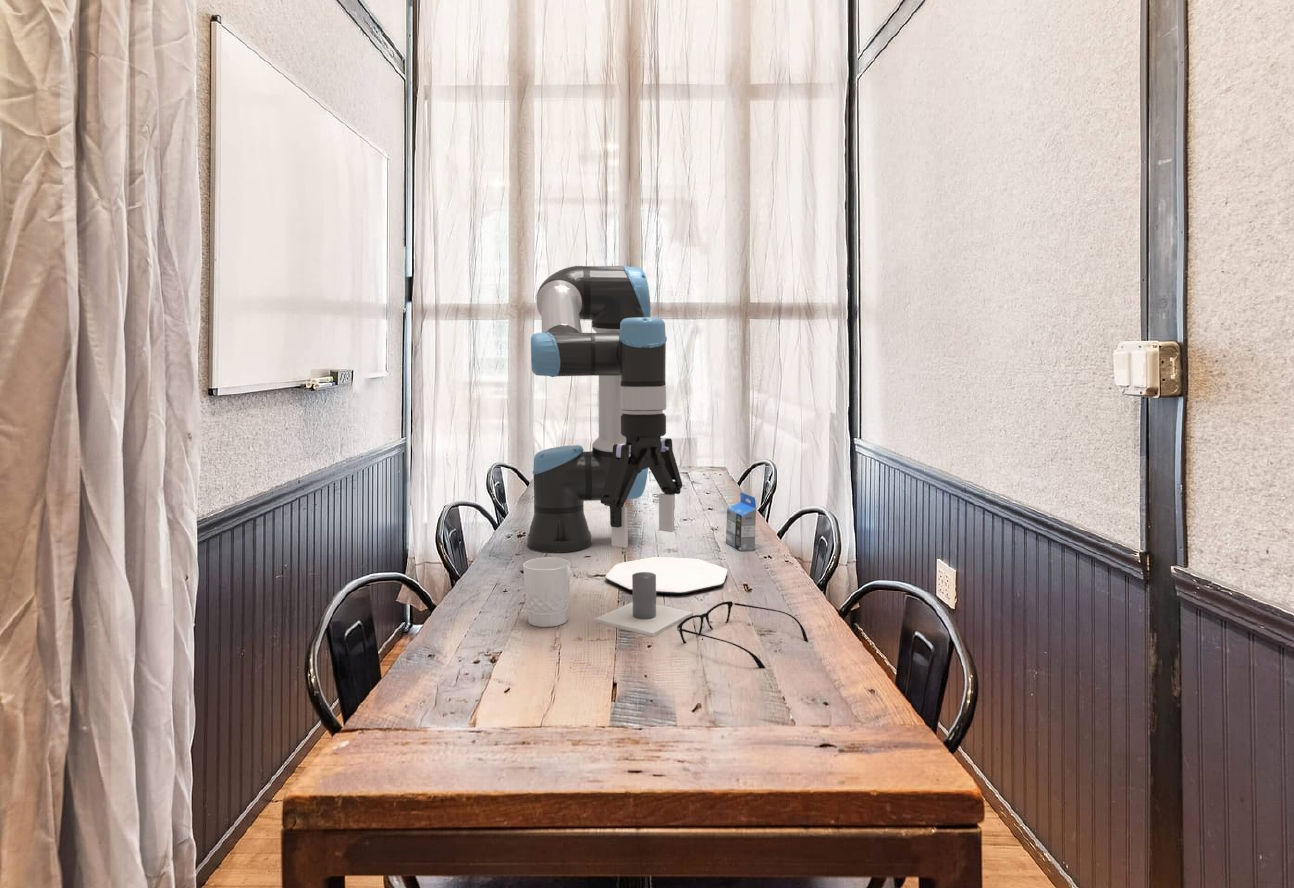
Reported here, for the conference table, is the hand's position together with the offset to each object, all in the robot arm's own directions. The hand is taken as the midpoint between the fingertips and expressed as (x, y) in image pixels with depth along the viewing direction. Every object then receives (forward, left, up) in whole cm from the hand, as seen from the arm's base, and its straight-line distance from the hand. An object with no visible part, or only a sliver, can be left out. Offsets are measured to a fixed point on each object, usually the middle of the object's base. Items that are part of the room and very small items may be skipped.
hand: (644, 538), depth 128 cm
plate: (-22, -10, -15) cm, 28 cm away
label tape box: (-53, -10, -14) cm, 56 cm away
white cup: (+10, -13, -14) cm, 22 cm away
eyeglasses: (0, +19, -15) cm, 24 cm away
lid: (0, 0, -15) cm, 15 cm away
